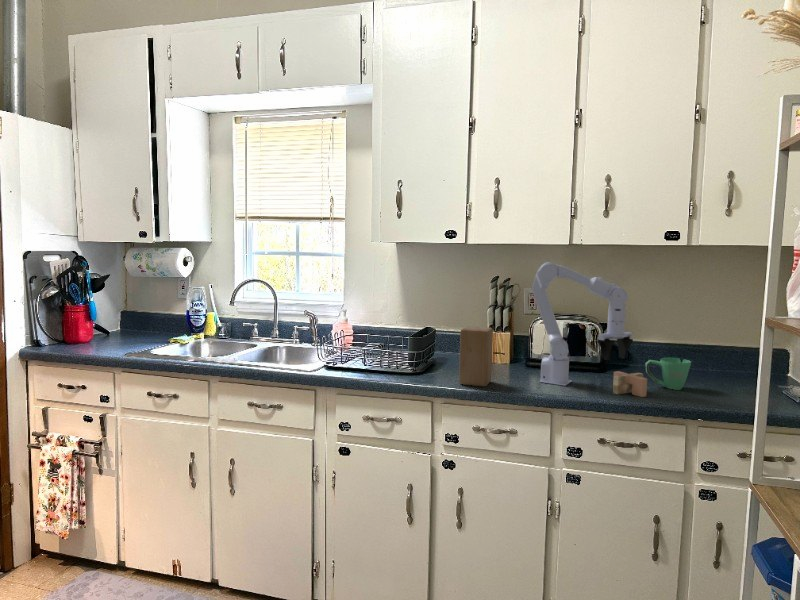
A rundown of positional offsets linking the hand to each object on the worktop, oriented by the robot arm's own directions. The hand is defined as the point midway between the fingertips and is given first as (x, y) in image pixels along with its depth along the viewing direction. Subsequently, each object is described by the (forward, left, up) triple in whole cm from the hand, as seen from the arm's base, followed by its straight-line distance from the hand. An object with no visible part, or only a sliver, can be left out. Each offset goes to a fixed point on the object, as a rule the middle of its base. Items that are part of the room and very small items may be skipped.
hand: (614, 359), depth 200 cm
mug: (+16, +10, -10) cm, 21 cm away
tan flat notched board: (+7, -5, -10) cm, 13 cm away
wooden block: (-42, -25, -10) cm, 50 cm away
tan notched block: (+6, -5, -10) cm, 13 cm away
